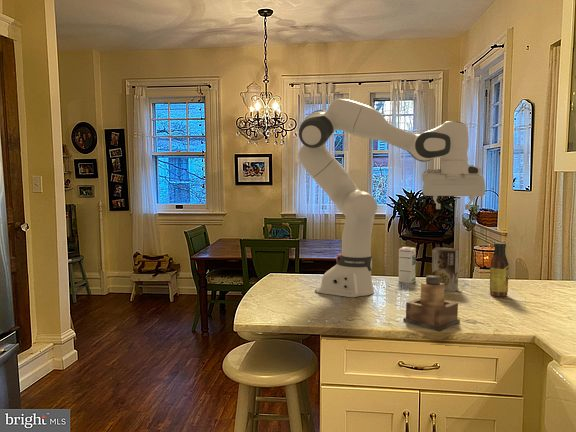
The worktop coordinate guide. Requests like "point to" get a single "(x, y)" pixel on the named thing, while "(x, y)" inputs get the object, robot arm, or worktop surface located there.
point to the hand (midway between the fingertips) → (452, 209)
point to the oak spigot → (432, 292)
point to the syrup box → (407, 264)
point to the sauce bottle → (499, 271)
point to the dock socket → (432, 315)
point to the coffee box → (446, 266)
